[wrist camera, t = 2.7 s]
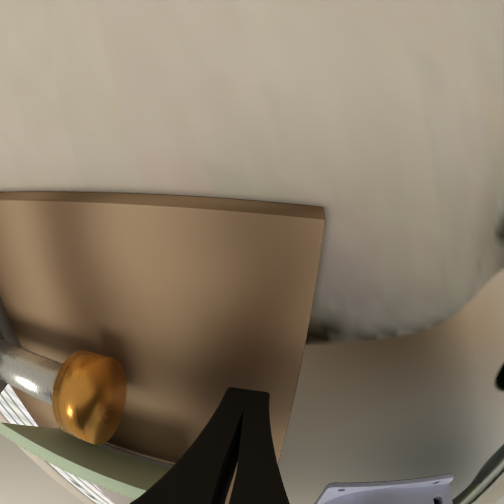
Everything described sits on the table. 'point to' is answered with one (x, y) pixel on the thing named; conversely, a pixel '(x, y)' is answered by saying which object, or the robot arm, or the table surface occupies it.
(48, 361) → the pin
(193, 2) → the table surface
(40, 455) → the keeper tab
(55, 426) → the board
